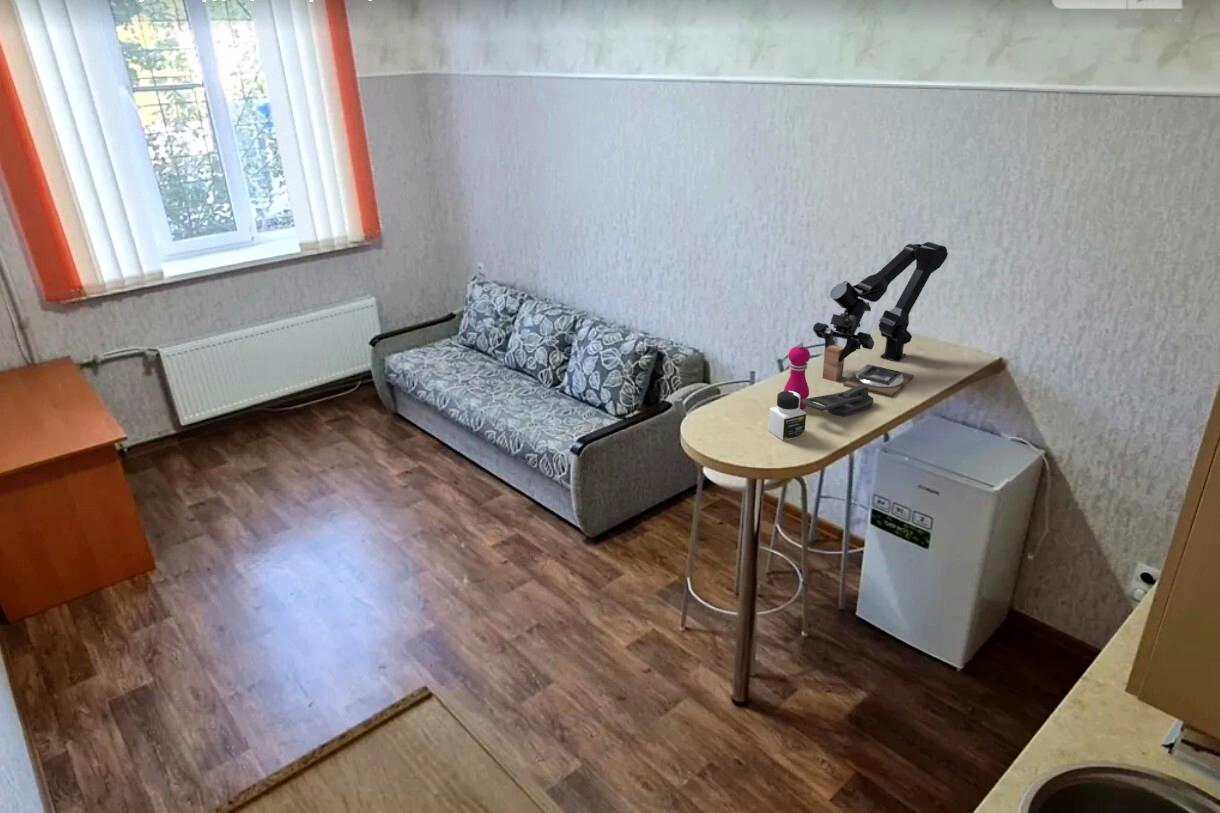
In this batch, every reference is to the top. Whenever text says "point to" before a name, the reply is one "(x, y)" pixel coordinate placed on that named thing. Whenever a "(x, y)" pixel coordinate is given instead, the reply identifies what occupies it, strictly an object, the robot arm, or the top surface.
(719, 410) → the top surface
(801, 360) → the pepper mill
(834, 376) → the tan wooden block
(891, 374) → the rosette plate
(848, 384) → the walnut board
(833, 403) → the zipper pull
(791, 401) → the medicine bottle
